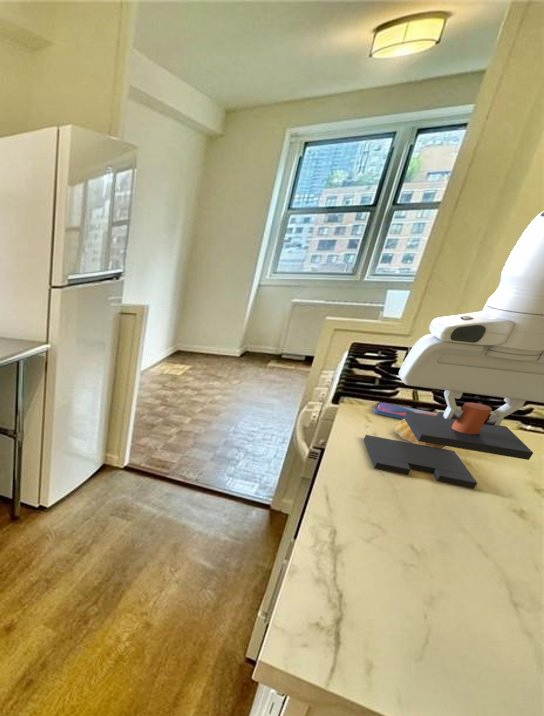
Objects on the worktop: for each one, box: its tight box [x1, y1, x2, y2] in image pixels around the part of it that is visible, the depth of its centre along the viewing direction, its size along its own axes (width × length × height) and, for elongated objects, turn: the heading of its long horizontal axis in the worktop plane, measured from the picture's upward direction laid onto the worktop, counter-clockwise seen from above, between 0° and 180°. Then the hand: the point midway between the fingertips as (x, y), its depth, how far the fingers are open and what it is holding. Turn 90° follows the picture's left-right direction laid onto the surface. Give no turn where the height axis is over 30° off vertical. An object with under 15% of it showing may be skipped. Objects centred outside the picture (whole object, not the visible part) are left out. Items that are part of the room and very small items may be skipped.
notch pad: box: [363, 434, 478, 489], centre depth 93 cm, size 14×14×1 cm
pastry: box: [393, 419, 446, 449], centre depth 100 cm, size 9×7×4 cm
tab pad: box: [404, 402, 534, 461], centre depth 74 cm, size 12×12×5 cm
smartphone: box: [373, 401, 438, 420], centre depth 111 cm, size 7×15×1 cm, turn 45°
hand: (469, 421), depth 73 cm, fingers closed on tab pad, 3 cm apart
